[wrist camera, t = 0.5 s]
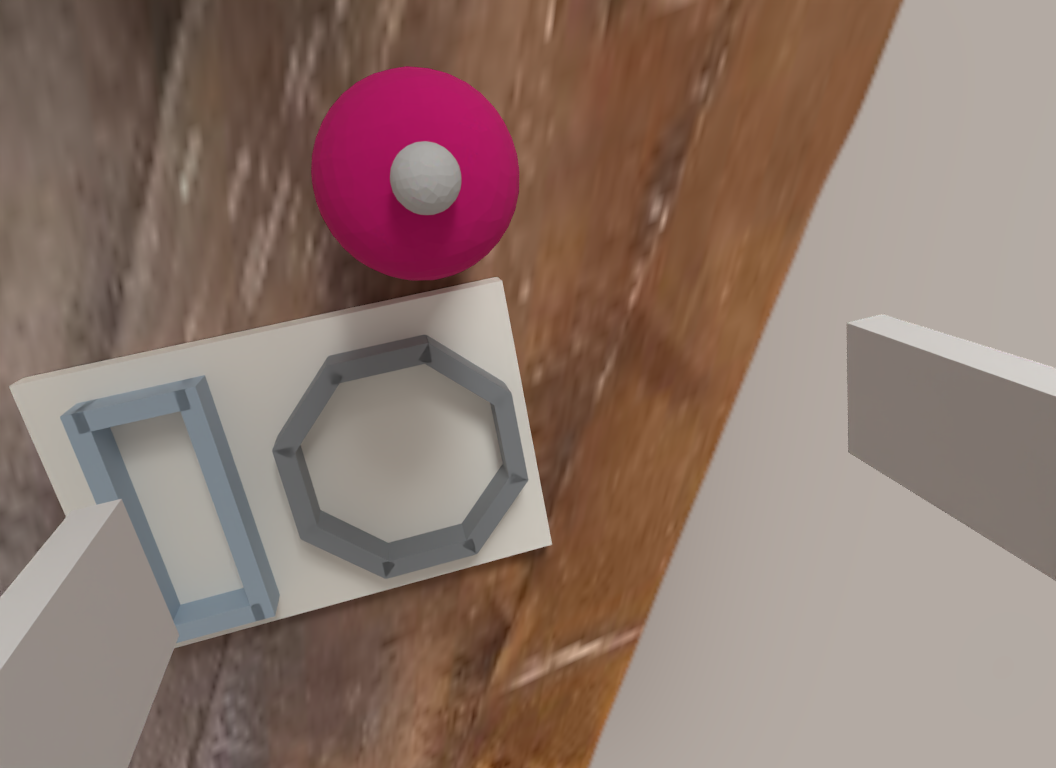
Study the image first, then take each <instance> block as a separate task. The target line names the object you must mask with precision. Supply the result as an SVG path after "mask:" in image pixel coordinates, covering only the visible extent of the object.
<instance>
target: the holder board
mask: <svg viewBox="0 0 1056 768" xmlns="http://www.w3.org/2000/svg"><path fill="white" fill-rule="evenodd" d="M9 388H10V390H11V393H12V395H13V397H14V400H15V402H16V404H17V406H18V409H19V411H20V413H21V415H22V418H23V420H24V422H25V425H26V427H27V429H28V431H29V434H30V436H31V438H32V441H33V443H34V445H35V447H36V450H37V452H38V454H39V457H40V459H41V461H42V463H43V466H44V468H45V470H46V472H47V475H48V477H49V479H50V482H51V484H52V486H53V488H54V491H55V493H56V495H57V498H58V500H59V502H60V504H61V507H62V509H63V511H64V514H65V516H66V517H67V516H68V515H69V513H70V512H71V511H73V510H77V509H81V508H85V507H89V506H93V505H98V504H102V503H106V502H110V501H114V500H118V499H122V501H123V503H124V506H125V508H126V510H127V513H128V515H129V518H130V520H131V522H132V525H133V527H134V529H135V532H136V534H137V536H138V539H139V541H140V543H141V546H142V548H143V551H144V553H145V555H146V558H147V560H148V562H149V565H150V567H151V569H152V572H153V574H154V577H155V579H156V581H157V584H158V586H159V588H160V591H161V593H162V595H163V598H164V600H165V603H166V605H167V607H168V610H169V612H170V614H171V617H172V619H173V621H174V624H175V626H176V629H177V631H178V633H179V637H178V639H177V642H176V645H175V647H174V648H177V647H181V646H184V645H188V644H192V643H195V642H199V641H203V640H206V639H210V638H214V637H217V636H221V635H224V634H228V633H232V632H235V631H239V630H243V629H246V628H250V627H254V626H257V625H261V624H265V623H268V622H272V621H276V620H279V619H283V618H286V617H290V616H294V615H297V614H301V613H305V612H308V611H312V610H316V609H319V608H323V607H327V606H330V605H334V604H337V603H341V602H345V601H348V600H352V599H356V598H359V597H363V596H367V595H370V594H374V593H378V592H381V591H385V590H388V589H392V588H396V587H399V586H403V585H407V584H410V583H414V582H418V581H421V580H425V579H429V578H432V577H436V576H439V575H443V574H447V573H450V572H454V571H458V570H461V569H465V568H469V567H472V566H476V565H480V564H483V563H487V562H491V561H494V560H498V559H501V558H505V557H509V556H512V555H516V554H520V553H523V552H527V551H531V550H534V549H538V548H542V547H545V546H549V545H552V542H551V537H550V531H549V526H548V521H547V515H546V510H545V505H544V500H543V494H542V489H541V484H540V478H539V473H538V468H537V463H536V457H535V452H534V447H533V441H532V436H531V431H530V426H529V420H528V415H527V410H526V404H525V399H524V394H523V389H522V383H521V378H520V373H519V367H518V362H517V357H516V352H515V346H514V341H513V336H512V330H511V325H510V320H509V315H508V309H507V304H506V299H505V293H504V288H503V283H502V280H501V279H499V278H498V277H493V278H489V279H484V280H479V281H475V282H470V283H465V284H461V285H456V286H451V287H447V288H442V289H437V290H432V291H428V292H423V293H418V294H414V295H409V296H404V297H400V298H395V299H390V300H386V301H381V302H376V303H372V304H367V305H362V306H357V307H353V308H348V309H343V310H339V311H334V312H329V313H325V314H320V315H315V316H311V317H306V318H301V319H296V320H292V321H287V322H282V323H278V324H273V325H268V326H264V327H259V328H254V329H250V330H245V331H240V332H236V333H231V334H226V335H221V336H217V337H212V338H207V339H203V340H198V341H193V342H189V343H184V344H179V345H175V346H170V347H165V348H160V349H156V350H151V351H146V352H142V353H137V354H132V355H128V356H123V357H118V358H114V359H109V360H104V361H100V362H95V363H90V364H85V365H81V366H76V367H71V368H67V369H62V370H57V371H53V372H48V373H43V374H39V375H34V376H29V377H24V378H22V379H20V380H19V381H17V382H15V383H14V384H12V385H10V386H9Z"/></svg>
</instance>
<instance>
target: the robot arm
mask: <svg viewBox="0 0 1056 768" xmlns="http://www.w3.org/2000/svg"><path fill="white" fill-rule="evenodd" d="M847 382H848V452H849V453H850V454H852V455H854V456H855V457H857V458H858V459H860V460H862V461H863V462H865V463H866V464H868V465H870V466H871V467H873V468H875V469H876V470H878V471H880V472H881V473H883V474H884V475H886V476H887V477H889V478H891V479H892V480H894V481H896V482H897V483H899V484H900V485H902V486H904V487H905V488H907V489H908V490H910V491H912V492H913V493H915V494H916V495H918V496H920V497H921V498H923V499H924V500H926V501H928V502H929V503H931V504H933V505H934V506H936V507H937V508H939V509H941V510H942V511H944V512H945V513H947V514H949V515H950V516H952V517H954V518H955V519H957V520H958V521H960V522H962V523H963V524H965V525H967V526H968V527H970V528H971V529H973V530H975V531H976V532H978V533H979V534H981V535H983V536H984V537H986V538H987V539H989V540H991V541H992V542H994V543H995V544H997V545H999V546H1000V547H1002V548H1004V549H1005V550H1007V551H1008V552H1010V553H1012V554H1013V555H1015V556H1016V557H1018V558H1020V559H1021V560H1023V561H1025V562H1026V563H1028V564H1029V565H1031V566H1033V567H1034V568H1036V569H1038V570H1039V571H1041V572H1042V573H1044V574H1045V575H1047V576H1049V577H1051V578H1052V579H1054V580H1055V581H1056V368H1054V367H1051V366H1047V365H1045V364H1041V363H1038V362H1035V361H1032V360H1029V359H1025V358H1022V357H1019V356H1015V355H1012V354H1009V353H1006V352H1003V351H999V350H996V349H993V348H990V347H987V346H983V345H980V344H977V343H974V342H970V341H967V340H964V339H961V338H958V337H955V336H951V335H948V334H945V333H942V332H939V331H935V330H932V329H929V328H926V327H922V326H919V325H916V324H913V323H909V322H906V321H903V320H899V319H897V318H894V317H890V316H887V315H884V314H881V315H877V316H873V317H869V318H865V319H860V320H856V321H852V322H848V323H847ZM178 637H179V633H178V631H177V629H176V626H175V624H174V621H173V619H172V617H171V614H170V612H169V610H168V607H167V605H166V603H165V600H164V598H163V595H162V593H161V591H160V588H159V586H158V584H157V581H156V579H155V577H154V574H153V572H152V569H151V567H150V565H149V562H148V560H147V558H146V555H145V553H144V551H143V548H142V546H141V543H140V541H139V539H138V536H137V534H136V532H135V529H134V527H133V525H132V522H131V520H130V518H129V515H128V513H127V510H126V508H125V506H124V503H123V501H122V499H118V500H114V501H110V502H106V503H102V504H98V505H93V506H89V507H85V508H81V509H77V510H73V511H71V512H70V513H69V515H68V516H67V517H66V518H65V519H64V521H63V522H62V523H61V524H60V525H59V527H58V528H57V529H56V530H55V532H54V533H53V534H52V535H51V536H50V538H49V539H48V540H47V541H46V542H45V544H44V545H43V546H42V547H41V549H40V550H39V551H38V552H37V553H36V555H35V556H34V557H33V558H32V559H31V561H30V562H29V563H28V564H27V565H26V567H25V568H24V569H23V570H22V572H21V573H20V574H19V575H18V576H17V578H16V579H15V580H14V581H13V582H12V584H11V585H10V586H9V587H8V589H7V590H6V591H5V592H4V593H3V595H2V596H1V597H0V768H128V766H129V763H130V761H131V758H132V755H133V753H134V750H135V748H136V745H137V743H138V740H139V737H140V735H141V732H142V730H143V727H144V725H145V722H146V719H147V717H148V714H149V712H150V709H151V706H152V704H153V701H154V699H155V696H156V694H157V691H158V688H159V686H160V683H161V681H162V678H163V676H164V673H165V670H166V668H167V665H168V663H169V660H170V658H171V655H172V652H173V650H174V647H175V645H176V642H177V639H178Z"/></svg>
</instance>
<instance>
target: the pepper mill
mask: <svg viewBox="0 0 1056 768" xmlns="http://www.w3.org/2000/svg"><path fill="white" fill-rule="evenodd" d="M311 175H312V184H313V189H314V194H315V198H316V202H317V205H318V208H319V210H320V213H321V216H322V217H323V219H324V221H325V223H326V224H327V226H328V228H329V230H330V231H331V233H332V235H333V236H334V237H335V238H336V240H337V241H338V242H339V243H340V244H341V245H342V247H343V248H344V249H345V250H346V251H347V252H349V253H350V254H351V255H352V256H353V257H354V258H356V259H357V260H358V261H359V262H361V263H363V264H365V265H366V266H368V267H370V268H372V269H374V270H376V271H378V272H381V273H383V274H385V275H388V276H392V277H396V278H400V279H406V280H437V279H441V278H445V277H448V276H452V275H455V274H457V273H460V272H462V271H464V270H466V269H468V268H469V267H471V266H473V265H475V264H476V263H477V262H478V261H480V260H481V259H482V258H484V257H485V256H486V255H487V254H488V253H489V252H490V251H491V250H492V249H493V248H494V246H495V245H496V244H497V243H498V242H499V241H500V239H501V237H502V236H503V234H504V233H505V231H506V230H507V228H508V226H509V224H510V221H511V219H512V216H513V214H514V211H515V208H516V203H517V198H518V193H519V166H518V159H517V153H516V150H515V147H514V144H513V140H512V137H511V135H510V133H509V131H508V129H507V127H506V125H505V123H504V121H503V119H502V118H501V117H500V115H499V114H498V112H497V111H496V109H495V108H494V106H493V105H492V104H491V103H490V102H489V101H488V100H487V99H486V98H485V97H484V96H483V95H482V94H481V93H480V92H478V91H477V90H476V89H474V88H473V87H472V86H470V85H469V84H468V83H466V82H464V81H462V80H460V79H458V78H456V77H454V76H452V75H450V74H448V73H444V72H440V71H437V70H433V69H429V68H419V67H408V66H407V67H400V68H394V69H389V70H385V71H382V72H378V73H374V74H372V75H370V76H368V77H366V78H364V79H362V80H360V81H358V82H357V83H355V84H354V85H353V86H352V87H350V88H349V89H348V90H347V91H345V92H344V93H343V94H342V95H341V96H340V97H339V98H338V100H337V101H336V102H335V103H334V104H333V105H332V107H331V108H330V109H329V111H328V113H327V114H326V116H325V118H324V119H323V121H322V124H321V126H320V129H319V131H318V134H317V136H316V139H315V144H314V149H313V153H312V168H311Z"/></svg>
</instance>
